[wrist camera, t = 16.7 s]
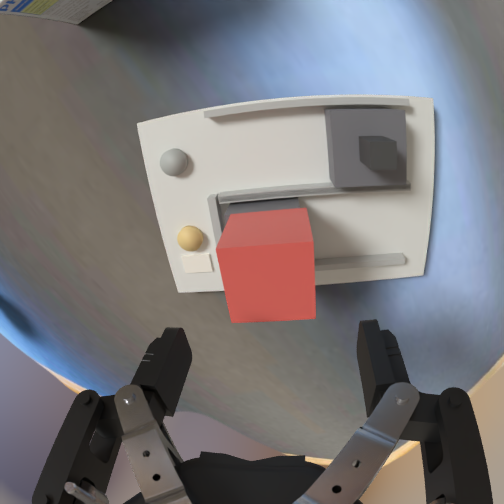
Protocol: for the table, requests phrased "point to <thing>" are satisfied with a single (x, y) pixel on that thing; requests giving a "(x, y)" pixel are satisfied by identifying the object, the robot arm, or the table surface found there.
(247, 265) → the cap
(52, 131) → the table surface
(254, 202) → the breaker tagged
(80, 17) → the light bulb box
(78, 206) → the table surface
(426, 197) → the panel
